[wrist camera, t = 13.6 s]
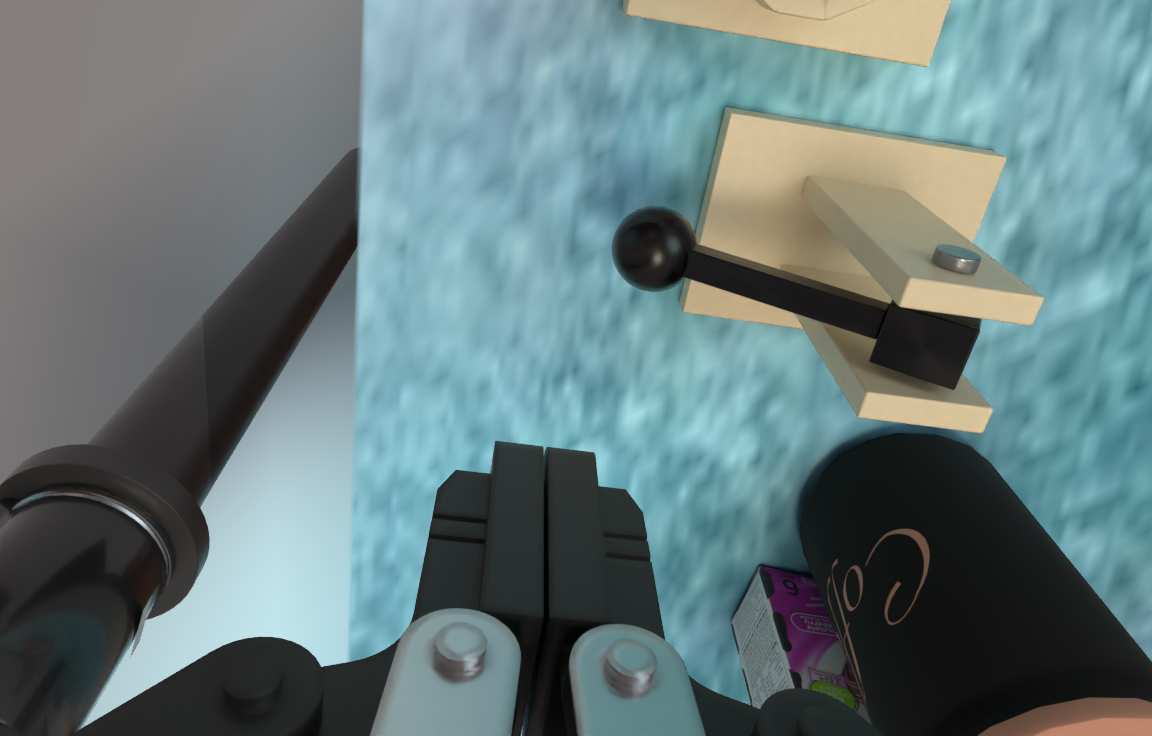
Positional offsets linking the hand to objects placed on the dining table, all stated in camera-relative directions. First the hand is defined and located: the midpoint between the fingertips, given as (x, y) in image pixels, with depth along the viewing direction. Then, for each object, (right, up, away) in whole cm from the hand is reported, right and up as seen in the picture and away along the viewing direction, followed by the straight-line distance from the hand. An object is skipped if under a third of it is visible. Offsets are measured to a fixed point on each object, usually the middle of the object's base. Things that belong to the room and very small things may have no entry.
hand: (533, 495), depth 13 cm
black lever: (+9, +5, +18) cm, 21 cm away
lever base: (+12, +8, +25) cm, 29 cm away
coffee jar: (+18, -5, +33) cm, 38 cm away
